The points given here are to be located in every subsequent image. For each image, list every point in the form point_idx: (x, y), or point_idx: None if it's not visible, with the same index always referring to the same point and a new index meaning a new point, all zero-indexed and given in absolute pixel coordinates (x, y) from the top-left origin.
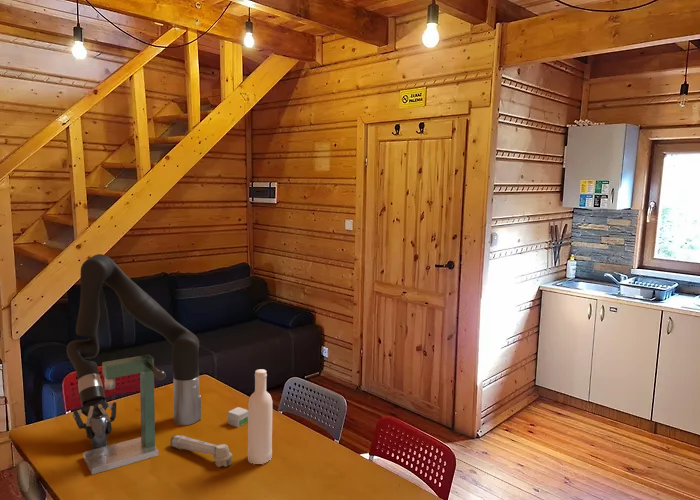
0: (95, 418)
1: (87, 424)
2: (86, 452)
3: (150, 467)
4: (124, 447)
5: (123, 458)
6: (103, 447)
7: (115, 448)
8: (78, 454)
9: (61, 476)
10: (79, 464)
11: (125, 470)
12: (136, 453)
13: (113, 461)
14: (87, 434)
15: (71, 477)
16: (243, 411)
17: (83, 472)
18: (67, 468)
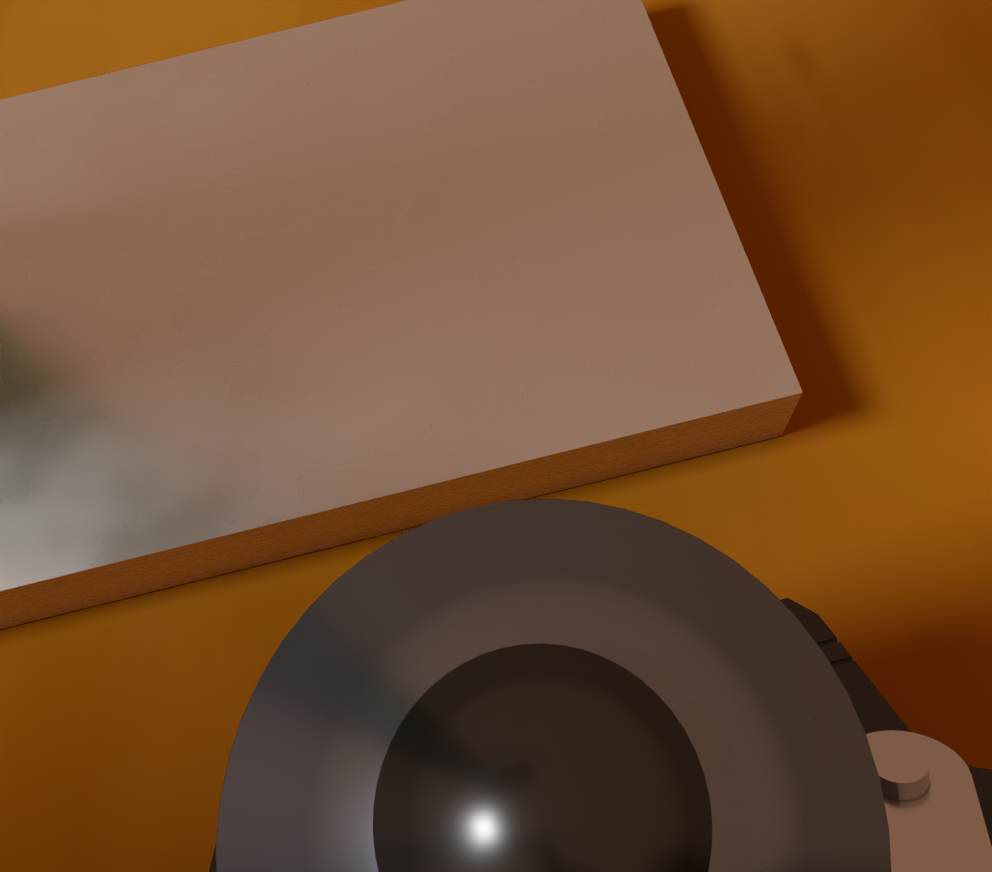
0: (654, 700)
1: (914, 767)
2: (747, 370)
3: (19, 4)
4: (170, 347)
5: (237, 61)
6: (480, 450)
7: (300, 354)
8: (886, 591)
9: (975, 70)
10: (807, 278)
11: (265, 13)
12: (61, 134)
13: (362, 29)
14: (819, 620)
15: (845, 25)
16: None
17: (721, 86)
18: (952, 224)
